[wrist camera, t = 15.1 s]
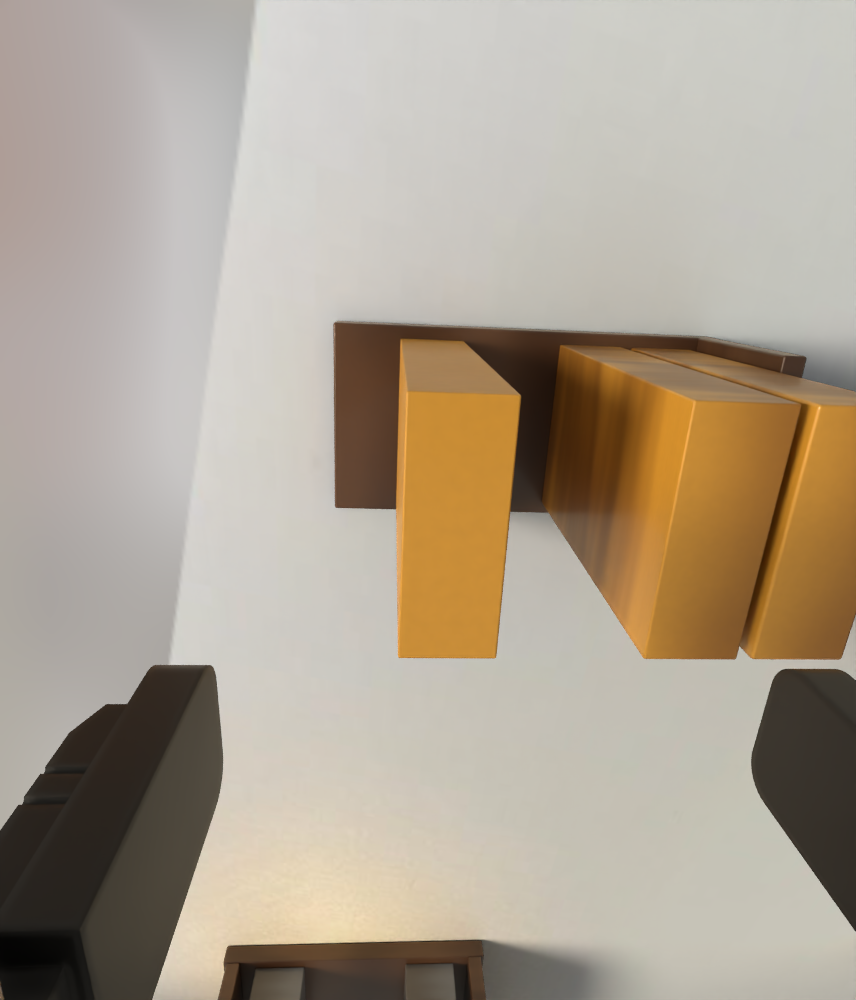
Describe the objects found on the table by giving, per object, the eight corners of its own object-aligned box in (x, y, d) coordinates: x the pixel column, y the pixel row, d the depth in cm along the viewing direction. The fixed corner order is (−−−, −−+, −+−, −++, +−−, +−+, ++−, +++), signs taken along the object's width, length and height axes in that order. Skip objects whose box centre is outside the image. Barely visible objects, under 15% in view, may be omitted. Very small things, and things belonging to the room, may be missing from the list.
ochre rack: (336, 500, 28) (292, 673, 16) (335, 320, 25) (281, 362, 13) (673, 508, 29) (874, 676, 17) (707, 336, 26) (977, 389, 14)
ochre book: (396, 499, 27) (398, 658, 16) (400, 338, 25) (406, 391, 13) (454, 501, 27) (496, 659, 16) (463, 340, 25) (522, 394, 14)
